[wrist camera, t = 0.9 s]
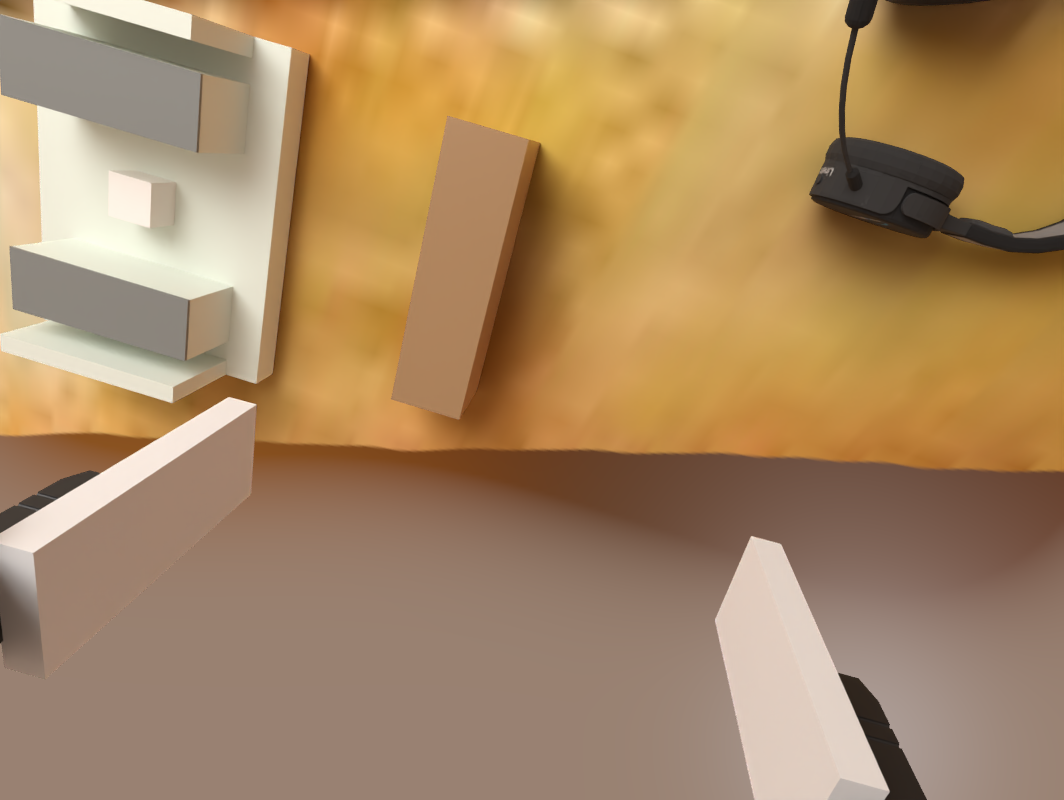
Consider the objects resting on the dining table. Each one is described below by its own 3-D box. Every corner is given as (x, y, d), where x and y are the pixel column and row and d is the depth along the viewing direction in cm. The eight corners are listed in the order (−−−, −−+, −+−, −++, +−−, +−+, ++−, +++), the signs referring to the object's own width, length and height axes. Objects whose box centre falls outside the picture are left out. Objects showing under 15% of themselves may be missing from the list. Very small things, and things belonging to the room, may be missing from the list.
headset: (925, -230, 19) (1517, -106, 20) (801, -108, 28) (1215, -27, 29) (789, 220, 24) (1268, 301, 25) (720, 202, 33) (1076, 262, 34)
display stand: (64, -18, 34) (-68, -62, 27) (309, 54, 33) (235, 27, 27) (70, 312, 41) (-33, 340, 34) (272, 374, 40) (206, 413, 34)
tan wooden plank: (469, 122, 34) (446, 115, 29) (540, 143, 34) (528, 139, 29) (416, 371, 39) (390, 398, 35) (477, 389, 39) (459, 419, 35)
